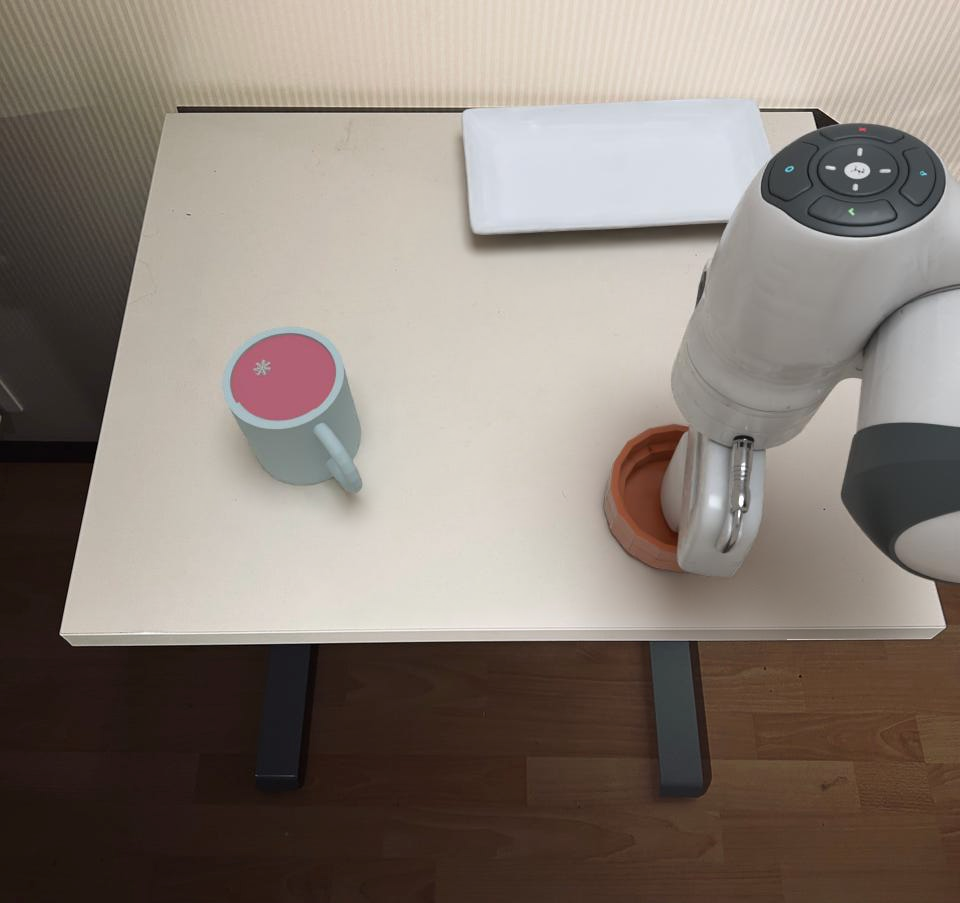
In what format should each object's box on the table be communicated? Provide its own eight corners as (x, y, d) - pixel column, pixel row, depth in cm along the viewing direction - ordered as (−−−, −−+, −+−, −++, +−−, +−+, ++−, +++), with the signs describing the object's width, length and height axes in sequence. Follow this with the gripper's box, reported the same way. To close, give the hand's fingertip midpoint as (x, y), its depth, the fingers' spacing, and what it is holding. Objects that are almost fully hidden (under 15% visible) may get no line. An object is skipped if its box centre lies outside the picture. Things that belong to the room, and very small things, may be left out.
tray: (783, 240, 80) (795, 215, 77) (469, 255, 79) (469, 230, 76) (746, 121, 88) (756, 94, 84) (460, 133, 87) (460, 107, 83)
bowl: (741, 462, 69) (757, 438, 65) (734, 585, 64) (751, 567, 60) (612, 439, 70) (620, 414, 66) (595, 559, 65) (602, 539, 61)
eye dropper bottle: (719, 487, 66) (763, 414, 55) (692, 543, 63) (733, 479, 53) (669, 464, 67) (703, 388, 56) (642, 518, 64) (672, 451, 54)
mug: (235, 428, 70) (200, 366, 61) (324, 374, 73) (303, 307, 64) (318, 546, 65) (293, 497, 56) (411, 483, 68) (401, 427, 59)
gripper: (799, 542, 43) (730, 613, 55) (806, 252, 52) (745, 369, 64) (682, 521, 44) (639, 596, 56) (708, 238, 53) (667, 356, 65)
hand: (696, 472), depth 60 cm, fingers closed on eye dropper bottle, 5 cm apart
